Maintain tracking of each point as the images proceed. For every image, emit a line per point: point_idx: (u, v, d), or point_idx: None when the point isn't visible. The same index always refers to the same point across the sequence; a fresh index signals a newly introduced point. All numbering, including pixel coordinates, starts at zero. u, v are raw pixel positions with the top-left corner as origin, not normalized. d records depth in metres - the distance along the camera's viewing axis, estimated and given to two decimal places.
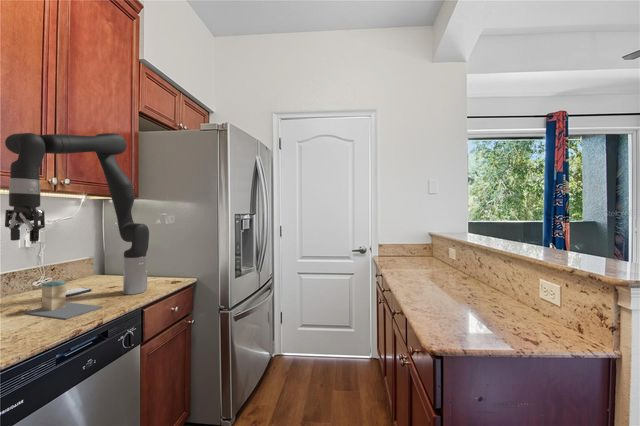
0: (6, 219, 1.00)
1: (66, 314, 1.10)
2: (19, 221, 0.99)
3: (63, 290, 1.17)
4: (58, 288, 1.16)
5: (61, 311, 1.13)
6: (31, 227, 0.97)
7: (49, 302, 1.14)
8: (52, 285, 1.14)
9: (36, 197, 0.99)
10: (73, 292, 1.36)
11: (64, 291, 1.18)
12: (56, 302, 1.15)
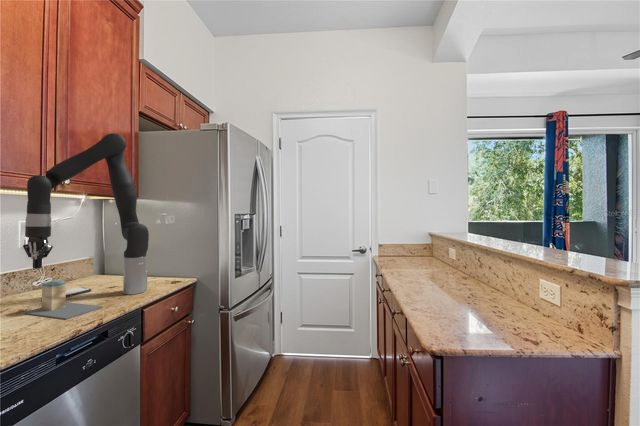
0: (26, 251, 1.18)
1: (66, 314, 1.10)
2: (33, 249, 1.18)
3: (63, 290, 1.17)
4: (58, 288, 1.16)
5: (61, 311, 1.13)
6: (36, 257, 1.17)
7: (49, 302, 1.14)
8: (52, 285, 1.14)
9: (47, 229, 1.18)
10: (73, 292, 1.36)
11: (64, 291, 1.18)
12: (56, 302, 1.15)
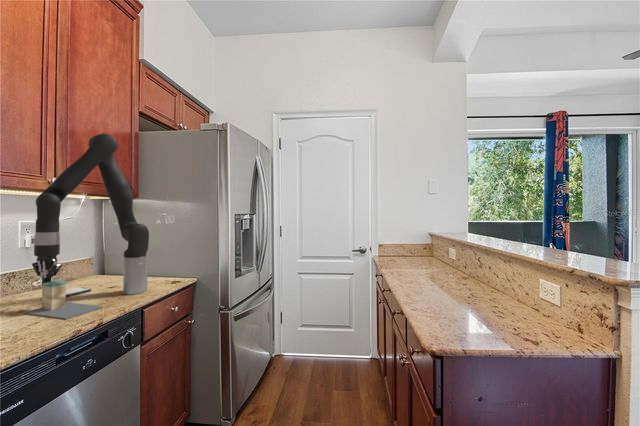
0: (36, 270, 1.17)
1: (66, 314, 1.10)
2: (42, 268, 1.17)
3: (63, 290, 1.17)
4: (58, 288, 1.16)
5: (61, 311, 1.13)
6: (45, 276, 1.16)
7: (49, 302, 1.14)
8: (52, 285, 1.14)
9: (56, 247, 1.17)
10: (72, 292, 1.36)
11: (64, 291, 1.18)
12: (56, 302, 1.15)
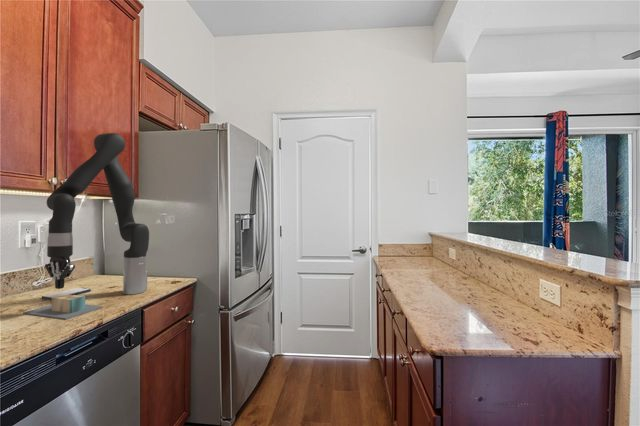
0: (49, 271, 1.16)
1: (66, 314, 1.10)
2: (55, 269, 1.15)
3: None
4: None
5: None
6: (58, 277, 1.14)
7: (57, 308, 1.13)
8: (71, 312, 1.11)
9: (69, 248, 1.16)
10: (72, 292, 1.36)
11: None
12: None
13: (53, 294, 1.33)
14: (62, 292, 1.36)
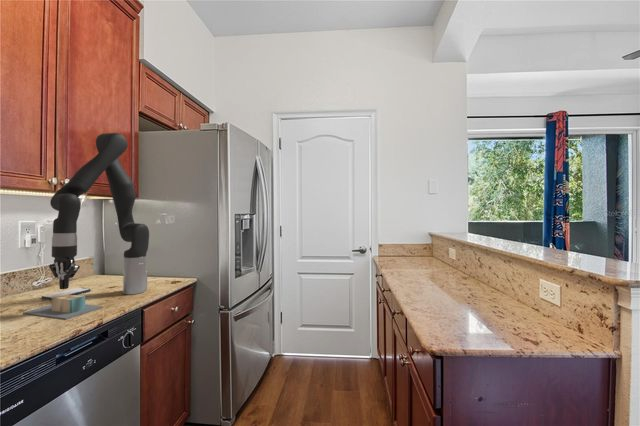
0: (53, 271, 1.15)
1: (66, 314, 1.10)
2: (59, 269, 1.15)
3: None
4: None
5: None
6: (63, 278, 1.14)
7: (57, 308, 1.13)
8: (71, 312, 1.11)
9: (74, 248, 1.15)
10: (72, 292, 1.36)
11: None
12: None
13: (53, 294, 1.33)
14: (62, 292, 1.36)
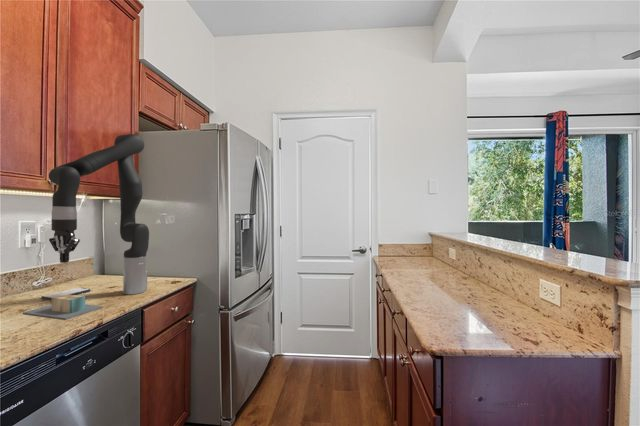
0: (53, 245, 1.15)
1: (66, 314, 1.10)
2: (60, 243, 1.14)
3: None
4: None
5: None
6: (63, 251, 1.14)
7: (57, 308, 1.13)
8: (71, 312, 1.11)
9: (73, 222, 1.15)
10: (72, 292, 1.36)
11: None
12: None
13: (53, 294, 1.33)
14: (62, 292, 1.36)
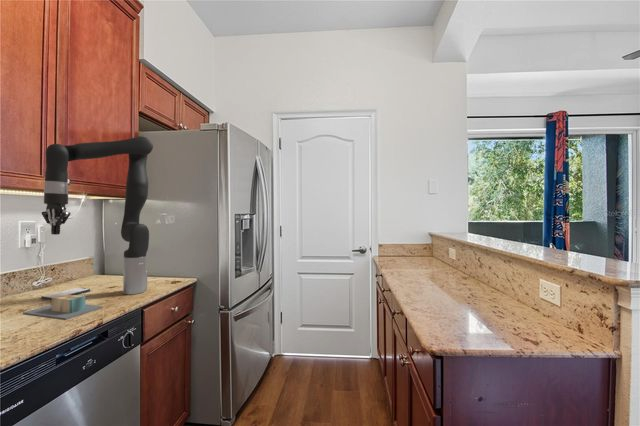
0: (45, 218, 1.23)
1: (66, 314, 1.10)
2: (51, 216, 1.22)
3: None
4: None
5: None
6: (54, 223, 1.21)
7: (57, 308, 1.13)
8: (71, 312, 1.11)
9: (65, 196, 1.23)
10: (72, 292, 1.36)
11: None
12: None
13: (52, 294, 1.33)
14: (61, 292, 1.36)
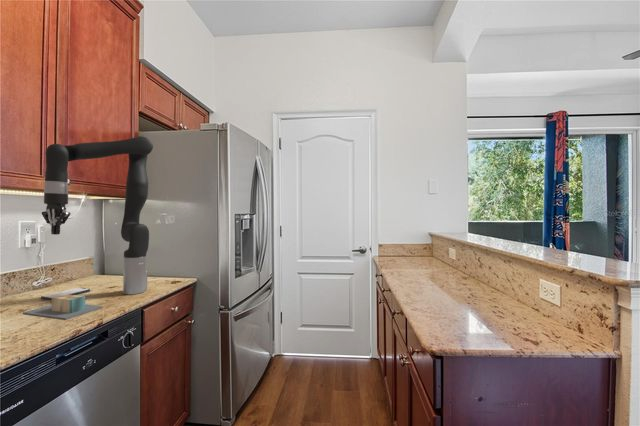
0: (45, 218, 1.23)
1: (66, 314, 1.10)
2: (51, 216, 1.22)
3: None
4: None
5: None
6: (54, 223, 1.21)
7: (57, 308, 1.13)
8: (71, 312, 1.11)
9: (65, 196, 1.23)
10: (72, 292, 1.36)
11: None
12: None
13: (52, 294, 1.33)
14: (61, 292, 1.36)
